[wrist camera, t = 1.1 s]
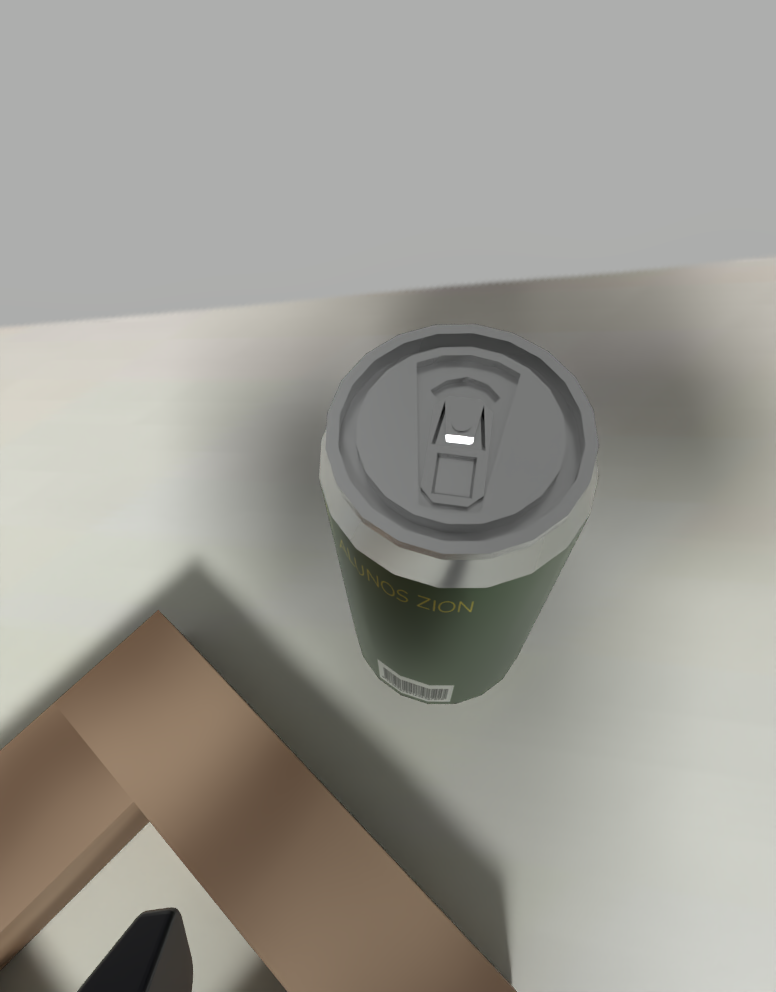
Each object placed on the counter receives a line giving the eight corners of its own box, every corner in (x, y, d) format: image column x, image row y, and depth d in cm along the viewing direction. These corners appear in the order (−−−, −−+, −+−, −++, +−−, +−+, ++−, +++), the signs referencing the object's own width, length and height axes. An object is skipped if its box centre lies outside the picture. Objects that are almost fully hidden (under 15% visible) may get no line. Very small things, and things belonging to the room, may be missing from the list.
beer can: (513, 722, 22) (608, 590, 11) (342, 694, 23) (281, 544, 12) (526, 562, 25) (615, 329, 14) (372, 540, 25) (342, 301, 14)
